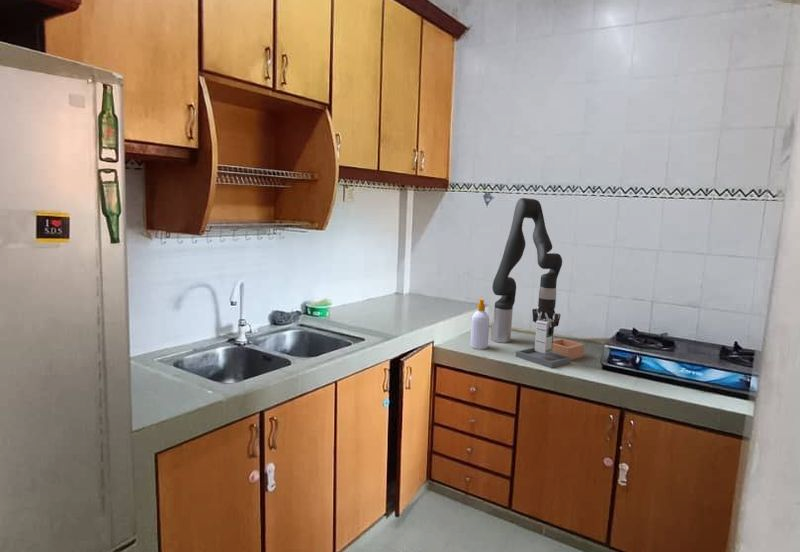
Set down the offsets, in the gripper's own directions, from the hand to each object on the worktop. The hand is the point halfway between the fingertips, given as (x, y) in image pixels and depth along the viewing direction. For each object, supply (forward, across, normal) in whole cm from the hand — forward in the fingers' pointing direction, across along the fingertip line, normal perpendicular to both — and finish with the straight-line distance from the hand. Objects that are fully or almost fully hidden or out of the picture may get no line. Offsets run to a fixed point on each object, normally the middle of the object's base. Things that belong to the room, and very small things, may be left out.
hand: (544, 333), depth 238 cm
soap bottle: (+13, -31, -10) cm, 35 cm away
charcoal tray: (+12, 0, 0) cm, 12 cm away
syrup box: (+9, 0, 0) cm, 9 cm away
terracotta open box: (+13, +1, +15) cm, 20 cm away
